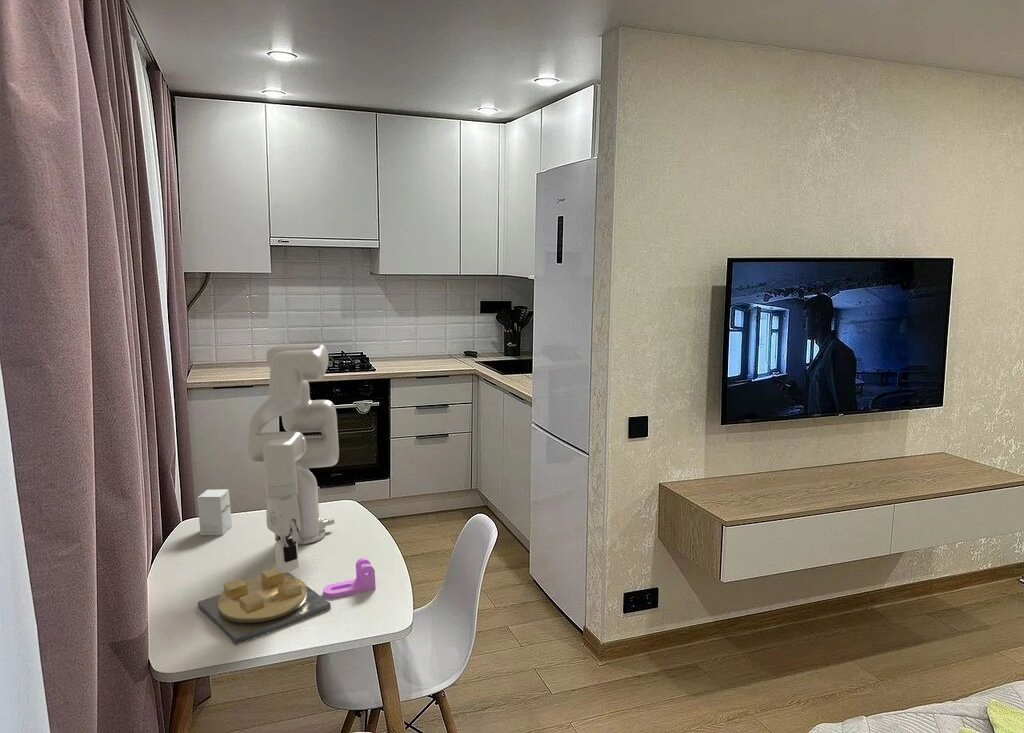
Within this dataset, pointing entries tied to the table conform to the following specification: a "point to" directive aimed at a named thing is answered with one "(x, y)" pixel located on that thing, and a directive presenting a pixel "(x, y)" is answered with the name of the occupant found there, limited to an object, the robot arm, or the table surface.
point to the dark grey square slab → (251, 630)
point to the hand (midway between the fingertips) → (287, 557)
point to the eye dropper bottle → (279, 554)
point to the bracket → (354, 582)
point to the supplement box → (214, 512)
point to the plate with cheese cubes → (262, 597)
